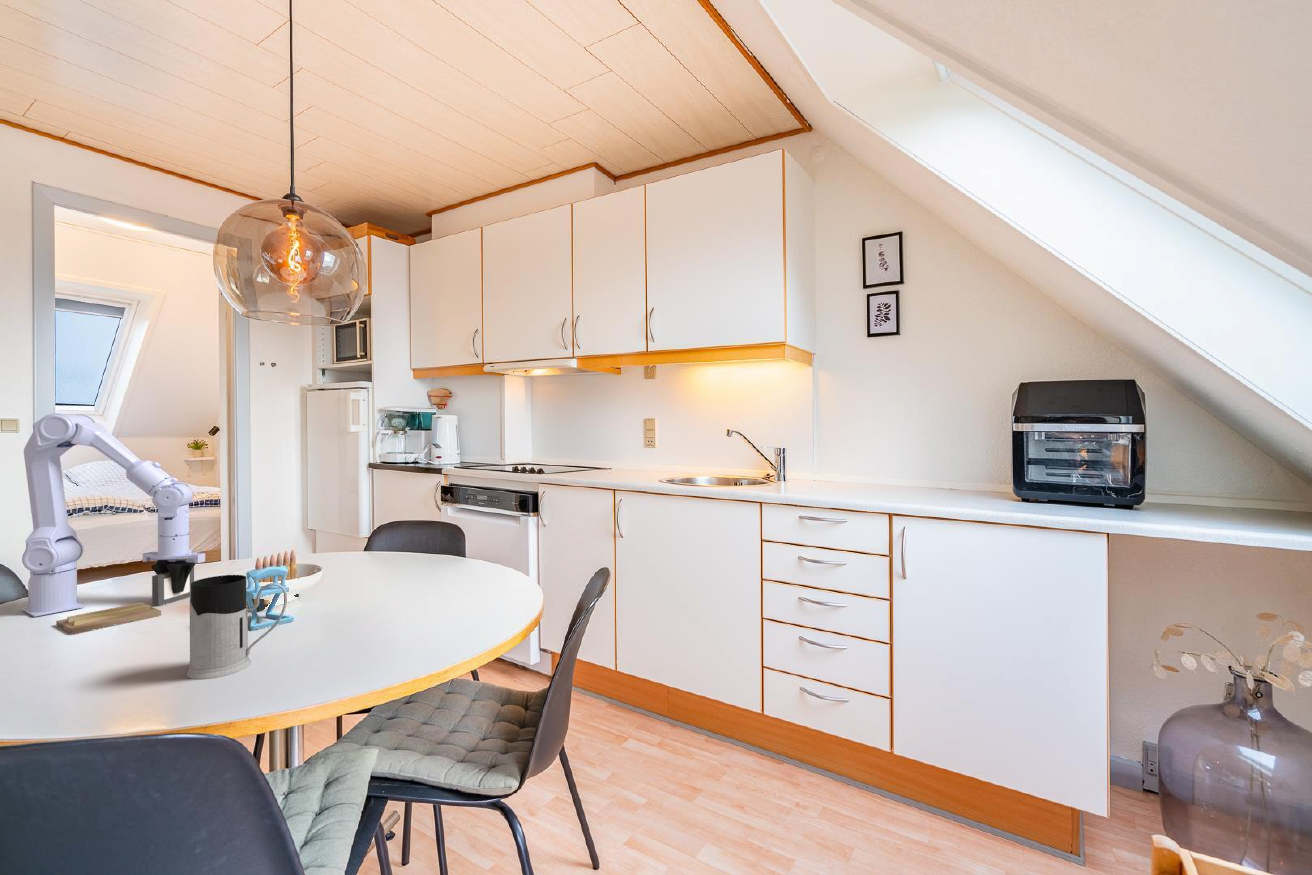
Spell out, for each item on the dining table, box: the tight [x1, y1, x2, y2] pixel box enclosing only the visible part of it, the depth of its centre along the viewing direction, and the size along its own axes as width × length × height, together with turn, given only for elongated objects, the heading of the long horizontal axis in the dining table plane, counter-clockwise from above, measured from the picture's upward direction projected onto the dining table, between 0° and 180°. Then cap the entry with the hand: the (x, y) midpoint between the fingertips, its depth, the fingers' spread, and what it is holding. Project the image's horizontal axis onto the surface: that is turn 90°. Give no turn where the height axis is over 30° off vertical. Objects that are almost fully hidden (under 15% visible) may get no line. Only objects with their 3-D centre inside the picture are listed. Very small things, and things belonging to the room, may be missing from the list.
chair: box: [245, 564, 295, 631], centre depth 121 cm, size 8×8×12 cm
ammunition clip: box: [252, 549, 300, 613], centre depth 133 cm, size 11×2×12 cm, turn 165°
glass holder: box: [186, 574, 288, 680], centre depth 98 cm, size 9×14×15 cm, turn 111°
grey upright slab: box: [151, 566, 195, 607], centre depth 136 cm, size 2×9×7 cm, turn 174°
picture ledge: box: [55, 601, 162, 635], centre depth 122 cm, size 10×14×2 cm
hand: (174, 592), depth 136 cm, fingers closed on grey upright slab, 2 cm apart
